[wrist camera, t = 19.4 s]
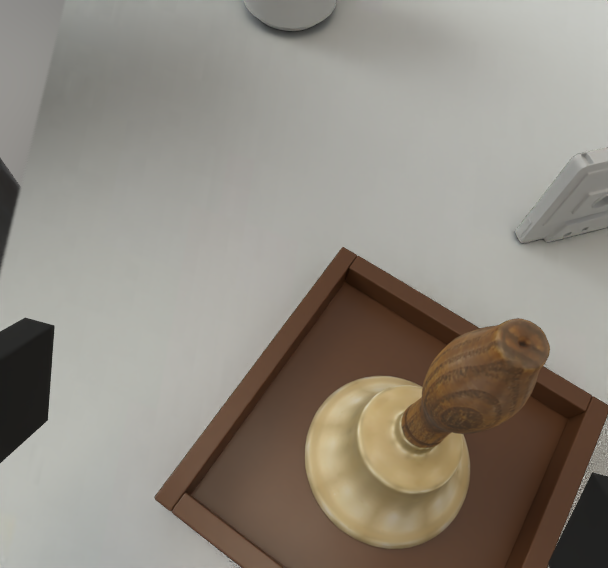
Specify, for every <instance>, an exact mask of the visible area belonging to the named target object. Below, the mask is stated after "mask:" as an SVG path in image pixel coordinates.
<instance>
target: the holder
mask: <svg viewBox="0 0 608 568" xmlns="http://www.w3.org/2000/svg"><path fill="white" fill-rule="evenodd" d="M476 329H480V328H478V327H477V326H475V325H473V324H472V323H470V322H468V321H467V320H465V319H463V318H462V317H460V316H458V315H457V314H455V313H453V312H452V311H450V310H448V309H447V308H445V307H443V306H442V305H440V304H438V303H437V302H435V301H433V300H432V299H430V298H428V297H427V296H425V295H423V294H422V293H420V292H418V291H417V290H415V289H413V288H412V287H410V286H408V285H407V284H405V283H403V282H402V281H400V280H398V279H397V278H395V277H393V276H392V275H390V274H388V273H387V272H385V271H383V270H382V269H380V268H378V267H377V266H375V265H373V264H371V263H370V262H368V261H366V260H365V259H363V258H361V257H360V256H357V255H356V254H354V253H353V252H351V251H349V250H348V249H346V248H344V247H342V248H341V250H340V251H339V252H338V254H337V255H336V256H335V258H334V259H333V260H332V262H331V263H330V264H329V266H328V267H327V268H326V270H325V271H324V272H323V274H322V275H321V276H320V278H319V279H318V280H317V282H316V283H315V284H314V286H313V287H312V288H311V290H310V291H309V292H308V293H307V295H306V296H305V297H304V299H303V300H302V301H301V303H300V304H299V305H298V307H297V308H296V309H295V311H294V312H293V313H292V315H291V316H290V317H289V319H288V320H287V321H286V323H285V324H284V325H283V327H282V328H281V329H280V331H279V332H278V333H277V335H276V336H275V337H274V339H273V340H272V341H271V343H270V344H269V345H268V347H267V348H266V349H265V351H264V352H263V353H262V355H261V356H260V357H259V359H258V360H257V361H256V363H255V364H254V365H253V367H252V368H251V369H250V371H249V372H248V373H247V375H246V376H245V377H244V379H243V380H242V381H241V383H240V384H239V385H238V387H237V388H236V389H235V391H234V392H233V393H232V395H231V396H230V397H229V398H228V400H227V401H226V402H225V404H224V405H223V406H222V408H221V409H220V410H219V412H218V413H217V414H216V416H215V417H214V418H213V420H212V421H211V422H210V424H209V425H208V426H207V428H206V429H205V430H204V432H203V433H202V434H201V436H200V437H199V438H198V440H197V441H196V442H195V444H194V445H193V446H192V448H191V449H190V450H189V452H188V453H187V454H186V456H185V457H184V458H183V460H182V461H181V462H180V464H179V465H178V466H177V468H176V469H175V470H174V472H173V473H172V474H171V476H170V477H169V478H168V480H167V481H166V482H165V484H164V485H163V486H162V488H161V489H160V490H159V492H158V493H157V494H156V496H155V500H156V501H158V502H159V503H160V504H161V505H163V506H164V507H165V508H167V509H168V510H169V511H172V513H173V514H174V515H175V516H177V517H178V518H179V519H181V520H182V521H183V522H184V523H186V524H187V525H188V526H189V527H191V528H192V529H193V530H194V531H196V532H197V533H198V534H200V535H201V536H202V537H203V538H205V539H206V540H207V541H208V542H210V543H211V544H212V545H214V546H215V547H216V548H217V549H219V550H220V551H221V552H222V553H224V554H225V555H226V556H228V557H229V558H230V559H231V560H233V561H234V562H235V563H236V564H238V565H239V566H240V567H242V568H547V567H548V565H549V564H548V562H549V560H550V558H551V556H552V554H553V552H554V549H555V547H556V544H557V542H558V539H559V537H560V534H561V532H562V529H563V527H564V524H565V522H566V519H567V517H568V514H569V512H570V509H571V506H572V504H573V501H574V499H575V496H576V494H577V491H578V489H579V486H580V484H581V481H582V479H583V476H584V474H585V471H586V468H587V466H588V463H589V461H590V458H591V456H592V453H593V451H594V448H595V446H596V443H597V441H598V438H599V436H600V433H601V430H602V428H603V425H604V423H605V420H606V418H607V415H608V405H607V404H605V403H604V402H602V401H600V400H599V399H597V398H595V397H592V395H590V394H589V393H587V392H585V391H584V390H582V389H580V388H579V387H577V386H575V385H574V384H572V383H570V382H569V381H567V380H565V379H564V378H562V377H560V376H559V375H557V374H555V373H554V372H552V371H550V370H549V369H547V368H545V367H544V366H543V367H542V368H541V369H540V371H539V374H538V378H537V381H536V384H535V386H534V389H533V391H532V394H531V395H530V397H529V398H528V400H527V402H526V403H525V405H524V406H523V407H522V408H521V409H520V410H519V411H518V412H517V413H516V414H515V415H514V416H512V417H511V418H510V419H508V420H507V421H505V422H503V423H501V424H500V425H498V426H495V427H493V428H491V429H488V430H485V431H482V432H478V433H471V434H463V435H464V437H465V440H466V443H467V447H468V452H469V458H470V481H469V487H468V491H467V494H466V498H465V500H464V503H463V505H462V507H461V509H460V511H459V513H458V514H457V516H456V517H455V518H454V520H453V521H452V522H451V523H450V525H449V526H448V527H447V528H446V529H445V530H444V531H442V532H441V533H440V534H439V535H437V536H436V537H434V538H432V539H431V540H429V541H427V542H425V543H423V544H420V545H417V546H413V547H410V548H403V549H386V548H379V547H374V546H371V545H368V544H365V543H363V542H360V541H358V540H356V539H354V538H352V537H351V536H349V535H347V534H346V533H344V532H343V531H341V530H340V529H339V528H338V527H337V526H336V525H335V524H334V523H333V522H332V521H331V520H330V519H329V518H328V517H327V516H326V515H325V513H324V512H323V510H322V509H321V508H320V506H319V504H318V502H317V501H316V499H315V497H314V495H313V493H312V490H311V487H310V484H309V481H308V478H307V473H306V468H305V445H306V438H307V434H308V430H309V427H310V425H311V422H312V420H313V418H314V416H315V414H316V412H317V411H318V409H319V408H320V406H321V405H322V404H323V402H324V401H325V400H326V399H327V398H328V397H329V396H330V395H331V394H332V393H333V392H335V391H336V390H337V389H339V388H340V387H342V386H343V385H345V384H347V383H350V382H352V381H355V380H357V379H361V378H365V377H371V376H392V377H397V378H401V379H405V380H408V381H411V382H413V383H416V384H418V385H420V386H422V387H423V383H424V380H425V377H426V374H427V372H428V369H429V367H430V366H431V364H432V362H433V361H434V359H435V358H436V357H437V355H438V354H439V353H440V352H441V351H442V350H443V349H444V348H445V347H446V346H447V345H448V344H449V343H450V342H451V341H453V340H454V339H455V338H457V337H459V336H461V335H463V334H464V333H467V332H470V331H473V330H476Z"/></svg>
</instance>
